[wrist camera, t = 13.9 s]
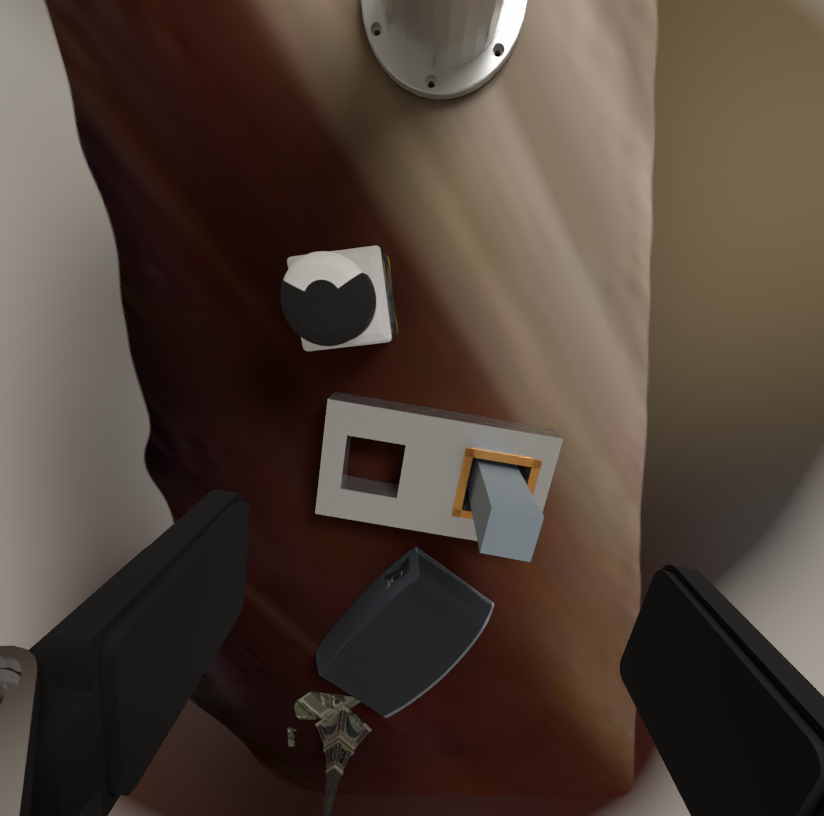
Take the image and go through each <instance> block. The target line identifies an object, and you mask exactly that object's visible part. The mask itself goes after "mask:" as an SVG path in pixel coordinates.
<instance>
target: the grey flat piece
mask: <svg viewBox="0 0 824 816" xmlns="http://www.w3.org/2000/svg"><path fill="white" fill-rule="evenodd" d="M352 436H354V437H360V438H366V439H372V440H378V441H384V442H389V443H395V444H401V445H406V447H405V452H404V458H403V464H402V470H401V476H400V482H399V484H393V483H387V482H381V481H376V480H370V479H364V478H358V477H352V476H347V469H348V461H349V453H350V446H351V438H352ZM562 442H563V438H562V437H561V436H560V435H559V434H558V433H557V432H556V431H555V430H554V429H553V428H547V427H541V426H535V425H529V424H523V423H517V422H511V421H505V420H500V419H494V418H488V417H482V416H476V415H470V414H464V413H458V412H452V411H446V410H440V409H434V408H429V407H423V406H417V405H411V404H405V403H399V402H393V401H387V400H381V399H375V398H369V397H363V396H358V395H352V394H346V393H340V392H334V393H333V394H332V395H331V396H330V397H329V398H328V400H327V409H326V418H325V427H324V437H323V446H322V455H321V464H320V473H319V482H318V492H317V501H316V510H315V514H320V515H326V516H332V517H338V518H343V519H349V520H355V521H361V522H367V523H373V524H379V525H385V526H391V527H397V528H403V529H409V530H415V531H421V532H427V533H432V534H438V535H444V536H450V537H456V538H462V539H468V540H474V541H477V536H476V531H475V526H474V521H473V516H472V511H471V506H470V501H469V496H465V491H466V487H467V482H468V478H469V473H470V469H471V464H472V460H473V457H474V458H480V459H486V460H491V461H497V462H503V463H509V464H515V465H521V468H520V473H521V475H522V477H523V478H524V480H525V482H526V484H527V486H528V488H529V490H530V492H531V493H532V495H533V497H534V499H535V501H536V503H537V505H538V507H539V508H540V510H541V512H543V509H544V505H545V502H546V498H547V495H548V491H549V488H550V484H551V481H552V477H553V474H554V470H555V466H556V463H557V459H558V456H559V452H560V449H561V445H562Z"/></svg>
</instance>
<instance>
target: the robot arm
mask: <svg viewBox="0 0 824 816" xmlns="http://www.w3.org/2000/svg"><path fill="white" fill-rule="evenodd" d="M527 4H528V0H361V8H362V16H363V22H364V26H365V30H366V35H367V38H368V41H369V43H370V46H371V48H372V51H373V54H374V55H375V57H376V59H377V60H378V62H379V64H380V65H381V67H382V69H383V70H384V71H385V72H386V73H387V74H388V75H389V76H390V78H391V79H392V80H393V81H394V82H396V83H397V84H398V85H400V86H401V87H402V88H404V89H405V90H407V91H409V92H411V93H413V94H415V95H417V96H420V97H425V98H429V99H452V98H457V97H461V96H464V95H466V94H468V93H471V92H473V91H475V90H477V89H478V88H480V87H481V86H483V85H484V84H485V83H487V82H488V81H489V80H491V78H492V77H493V76H494V75H495V74H496V73H497V72H498V71H499V70H500V69H501V68H502V66H503V65H504V63H505V62H506V60H507V59H508V57H509V56H510V54H511V53H512V51H513V49H514V46H515V44H516V42H517V40H518V38H519V35H520V32H521V28H522V25H523V23H524V19H525V14H526V9H527ZM377 33H379V34H380V35H379V36H375V35H376V34H377ZM495 54H499V56H500V57H497V56H495ZM430 84H433V85H434V87H433V88H429V87H428V86H429V85H430ZM248 516H249V504H248V502H247V501H242V496H241V495H240V494H239V493H233V492H227V491H221V490H213V491H211V492H210V493H209V494H207V495H206V496H205V497H204V498H203V499H202V500H201V501H200V502H198V503H197V504H196V505H195V506H194V507H193V508H192V509H190V510H189V511H188V512H187V513H186V514H185V515H184V516H182V517H181V518H180V519H179V520H178V521H177V522H176V523H175V524H173V525H172V526H171V527H170V528H169V529H168V530H167V531H165V532H164V533H163V534H162V535H161V536H160V537H159V538H158V539H156V540H155V541H154V542H153V543H152V544H151V545H149V546H148V547H147V548H145V549H144V550H143V551H142V552H140V553H139V554H138V555H137V556H136V557H134V558H133V559H132V560H131V561H130V562H129V563H128V564H127V565H125V566H124V567H123V568H122V569H121V570H120V571H118V572H117V573H116V574H115V575H114V576H113V577H112V578H110V579H109V580H108V581H107V582H106V583H105V584H104V585H102V586H101V587H100V588H99V589H98V590H97V591H96V592H95V593H93V594H92V595H91V596H90V597H89V598H88V599H87V600H85V601H84V602H83V603H82V604H81V605H80V606H79V607H77V608H76V609H75V610H74V611H73V612H72V613H71V614H69V615H68V616H67V617H66V618H65V619H64V620H63V621H61V622H60V623H59V624H58V625H57V626H56V627H55V628H53V629H52V630H51V631H50V632H49V633H48V634H47V635H45V636H44V637H43V638H42V639H41V640H40V641H39V642H37V643H36V644H35V645H34V646H33V647H32V648H31V649H30V650H27V649H24V648H20V647H16V646H0V816H107V815H108V814H109V812H110V811H111V809H112V807H113V806H114V804H115V803H116V801H117V800H118V798H119V796H120V795H124V796H127V795H129V794H130V793H131V792H132V791H133V790H134V789H135V787H136V786H137V784H138V783H139V781H140V780H141V778H142V776H143V775H144V773H145V771H146V769H147V768H148V766H149V765H150V763H151V761H152V760H153V758H154V756H155V754H156V753H157V751H158V749H159V748H160V746H161V745H162V743H163V741H164V740H165V738H166V736H167V735H168V733H169V731H170V730H171V728H172V726H173V725H174V723H175V721H176V720H177V718H178V716H179V715H180V713H181V711H182V710H183V708H184V706H185V705H186V703H187V701H188V700H189V698H190V696H191V695H192V693H193V692H194V690H195V688H196V687H197V685H198V683H199V682H200V680H201V678H202V677H203V675H204V673H205V672H206V670H207V668H208V667H209V665H210V663H211V662H212V660H213V658H214V657H215V655H216V653H217V652H218V650H219V648H220V647H221V645H222V643H223V642H224V640H225V638H226V637H227V635H228V633H229V632H230V630H231V628H232V627H233V625H234V623H235V622H236V620H237V618H238V617H239V615H240V612H241V610H242V607H243V603H244V593H245V574H246V555H247V535H248ZM620 673H621V677H622V680H623V682H624V684H625V686H626V688H627V690H628V692H629V694H630V696H631V698H632V700H633V702H634V704H635V706H636V708H637V710H638V712H639V714H640V715H641V718H642V720H643V722H644V724H645V726H646V728H647V730H648V732H649V733H650V735H651V737H652V739H653V741H654V743H655V745H656V747H657V749H658V751H659V753H660V755H661V757H662V759H663V761H664V763H665V765H666V767H667V769H668V771H669V773H670V775H671V777H672V779H673V781H674V783H675V785H676V787H677V789H678V791H679V793H680V795H681V797H682V799H683V801H684V803H685V805H686V807H687V808H688V810H689V812H690V814H691V816H824V697H823V696H822V695H821V694H820V693H819V692H818V691H817V690H816V688H814V687H813V685H812V684H810V683H809V681H808V680H807V679H806V678H804V676H803V675H802V674H801V673H800V672H798V670H797V669H796V668H795V667H794V666H793V665H792V664H791V663H790V662H788V660H787V659H786V658H785V657H784V656H783V655H782V654H781V653H780V652H779V651H778V650H777V649H776V648H775V647H774V646H773V645H772V644H771V643H770V642H769V641H768V640H767V639H766V638H765V637H764V636H763V635H762V634H761V633H760V632H759V631H758V630H757V629H756V628H755V627H754V626H753V625H752V624H751V623H750V622H749V621H748V620H747V619H746V618H745V617H744V616H743V615H742V614H741V613H740V612H739V611H738V610H737V609H736V608H735V607H734V606H733V605H732V604H731V603H730V602H729V601H728V600H727V599H726V598H725V597H724V596H723V595H722V594H721V593H720V592H719V591H718V590H717V589H716V588H715V587H714V586H713V585H712V584H711V583H710V582H709V581H708V580H707V579H706V578H705V577H704V576H703V575H702V574H701V573H700V572H699V571H698V570H696V569H691V568H686V567H680V566H674V565H666V566H664V567H663V568H662V570H658V571H657V572H656V573H655V574H654V576H653V579H652V581H651V584H650V587H649V589H648V592H647V594H646V597H645V599H644V602H643V605H642V607H641V610H640V612H639V615H638V617H637V620H636V623H635V625H634V628H633V630H632V633H631V635H630V638H629V641H628V643H627V646H626V648H625V651H624V653H623V656H622V659H621V662H620Z"/></svg>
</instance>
